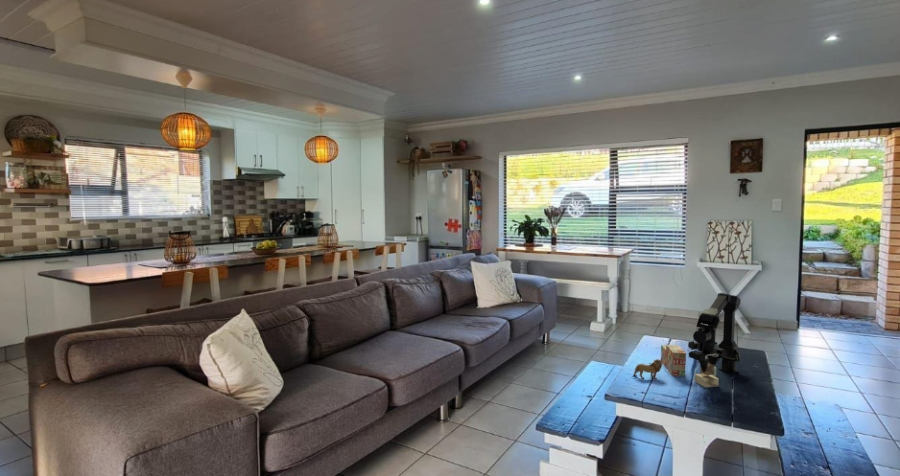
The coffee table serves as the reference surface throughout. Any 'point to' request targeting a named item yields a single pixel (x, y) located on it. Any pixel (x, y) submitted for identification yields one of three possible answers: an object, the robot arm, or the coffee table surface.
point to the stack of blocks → (674, 359)
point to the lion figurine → (649, 368)
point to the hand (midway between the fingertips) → (706, 371)
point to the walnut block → (708, 369)
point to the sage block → (714, 371)
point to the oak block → (706, 380)
